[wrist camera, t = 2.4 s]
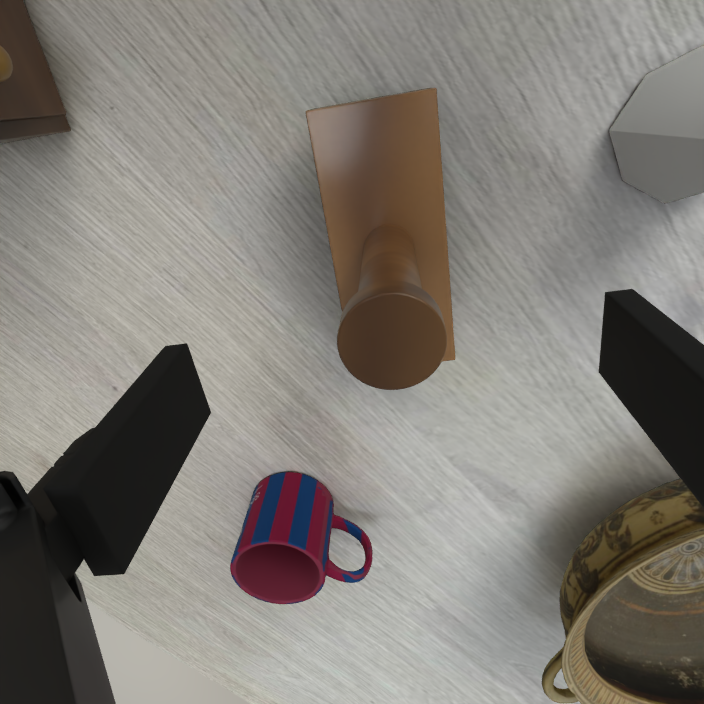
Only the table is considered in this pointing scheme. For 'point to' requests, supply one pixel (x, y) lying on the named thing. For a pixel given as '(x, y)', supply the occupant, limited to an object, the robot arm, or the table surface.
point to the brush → (386, 234)
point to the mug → (291, 541)
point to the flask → (664, 131)
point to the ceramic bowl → (635, 606)
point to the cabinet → (25, 80)
